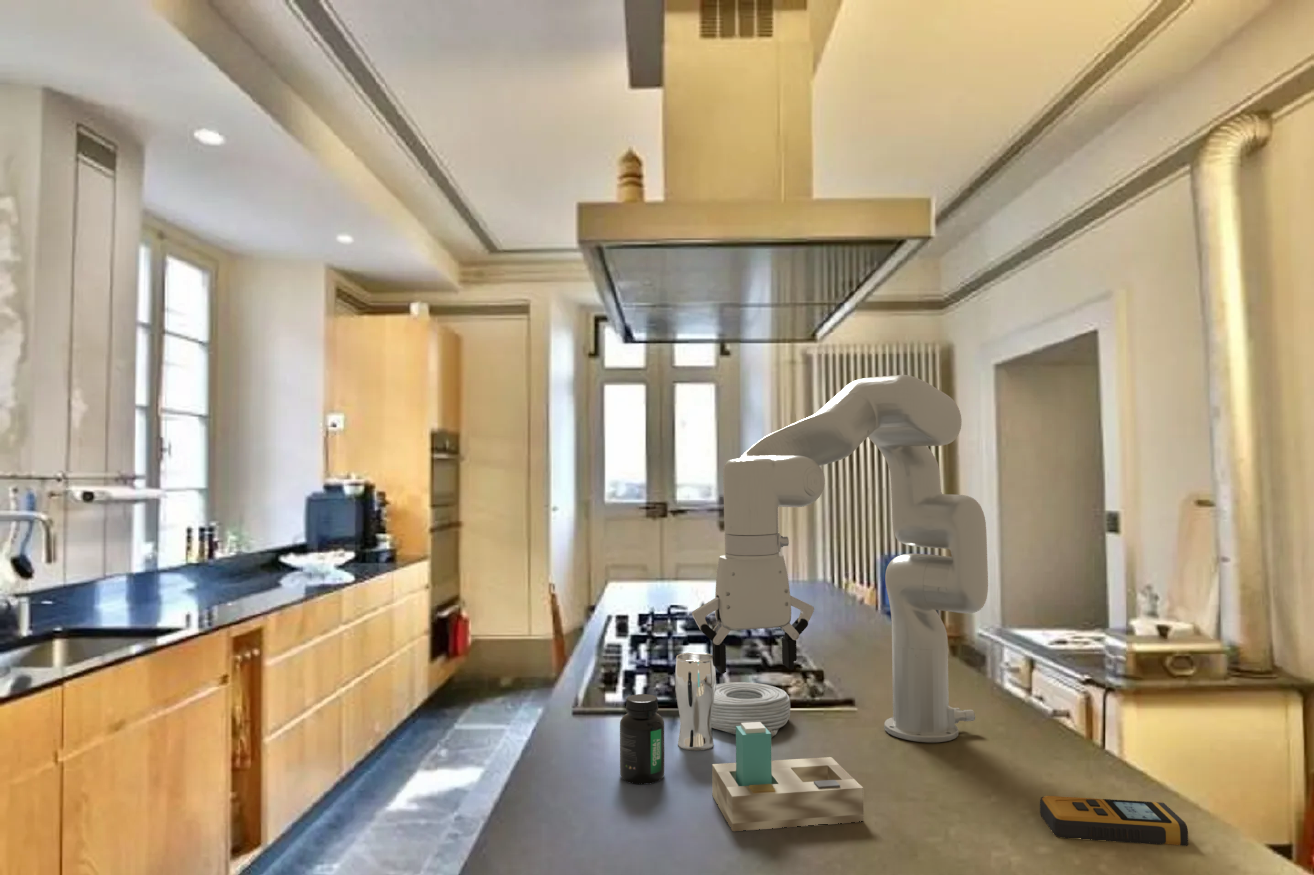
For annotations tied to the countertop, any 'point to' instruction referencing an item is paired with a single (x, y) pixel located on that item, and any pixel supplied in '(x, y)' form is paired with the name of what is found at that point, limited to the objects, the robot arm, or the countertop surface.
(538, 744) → the countertop surface
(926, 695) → the robot arm
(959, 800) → the countertop surface
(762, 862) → the countertop surface
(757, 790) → the socket block
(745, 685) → the cable
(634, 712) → the supplement bottle
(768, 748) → the plug
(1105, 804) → the electronic device
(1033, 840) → the countertop surface
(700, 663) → the beer glass
